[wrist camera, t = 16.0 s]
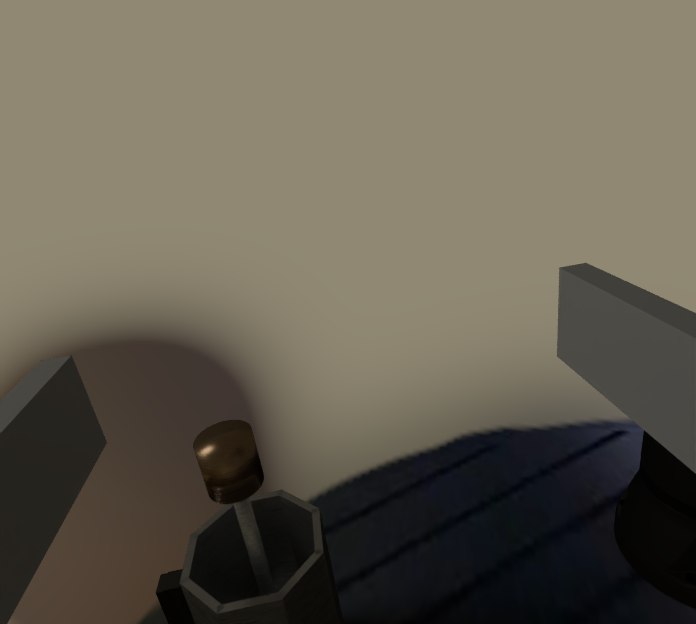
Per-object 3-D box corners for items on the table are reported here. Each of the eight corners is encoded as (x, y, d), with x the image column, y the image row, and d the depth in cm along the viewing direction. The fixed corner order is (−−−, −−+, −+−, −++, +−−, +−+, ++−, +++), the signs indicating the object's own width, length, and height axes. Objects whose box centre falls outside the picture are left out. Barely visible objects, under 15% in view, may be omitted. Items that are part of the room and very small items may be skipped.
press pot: (346, 613, 48) (318, 480, 42) (362, 740, 38) (330, 591, 32) (215, 642, 48) (166, 511, 41) (197, 779, 38) (129, 635, 31)
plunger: (327, 625, 46) (274, 400, 36) (334, 707, 40) (272, 460, 30) (254, 641, 46) (181, 418, 36) (249, 727, 39) (159, 482, 29)
